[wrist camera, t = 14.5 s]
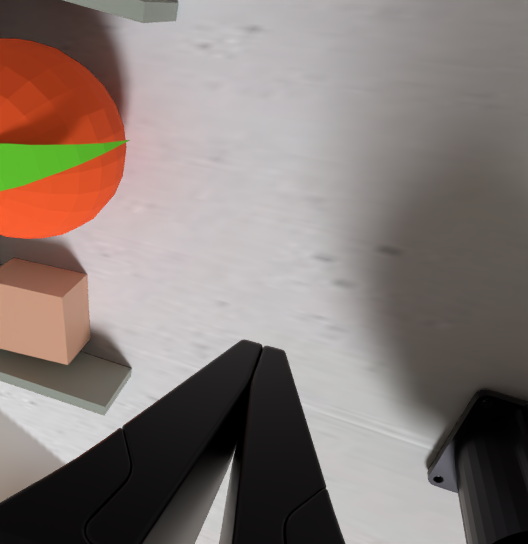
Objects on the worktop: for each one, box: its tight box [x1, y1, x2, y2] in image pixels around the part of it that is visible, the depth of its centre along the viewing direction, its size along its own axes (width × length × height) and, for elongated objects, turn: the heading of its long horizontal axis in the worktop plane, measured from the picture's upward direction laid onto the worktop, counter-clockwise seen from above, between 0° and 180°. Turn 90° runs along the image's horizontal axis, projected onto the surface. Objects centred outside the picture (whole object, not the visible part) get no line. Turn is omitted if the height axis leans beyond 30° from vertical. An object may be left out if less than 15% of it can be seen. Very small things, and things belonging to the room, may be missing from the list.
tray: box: [0, 0, 178, 415], centre depth 21 cm, size 18×8×3 cm, turn 167°
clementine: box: [0, 38, 129, 239], centre depth 18 cm, size 8×7×7 cm
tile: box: [0, 258, 90, 365], centre depth 25 cm, size 4×4×2 cm
